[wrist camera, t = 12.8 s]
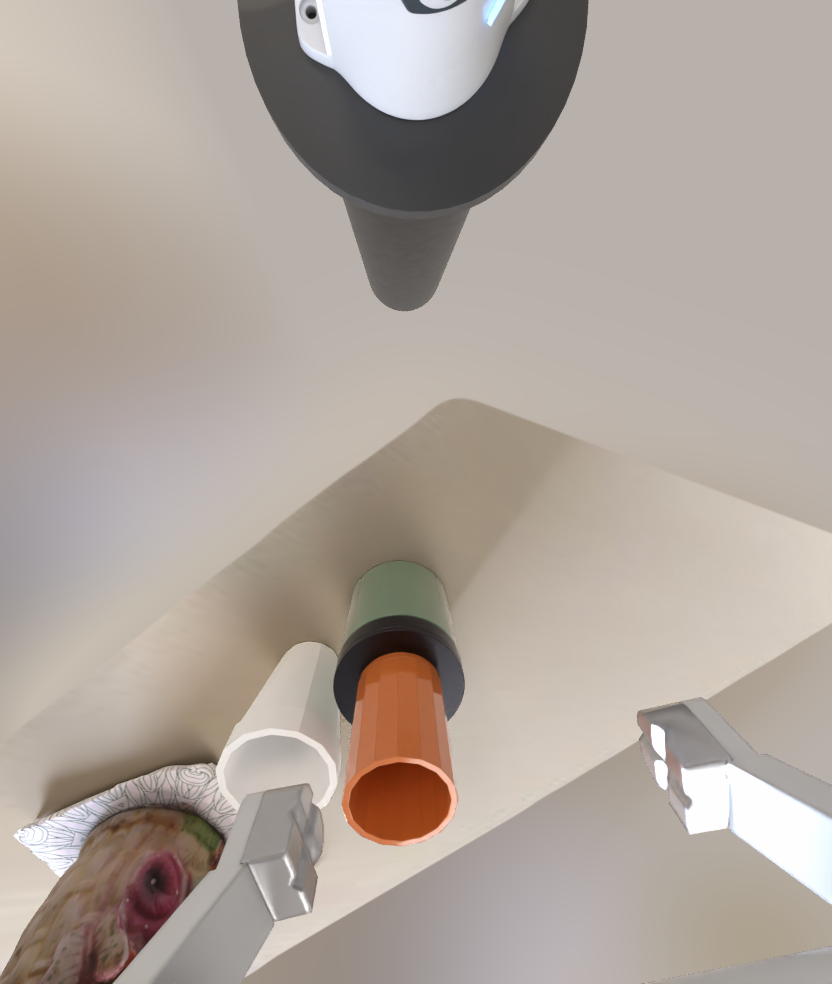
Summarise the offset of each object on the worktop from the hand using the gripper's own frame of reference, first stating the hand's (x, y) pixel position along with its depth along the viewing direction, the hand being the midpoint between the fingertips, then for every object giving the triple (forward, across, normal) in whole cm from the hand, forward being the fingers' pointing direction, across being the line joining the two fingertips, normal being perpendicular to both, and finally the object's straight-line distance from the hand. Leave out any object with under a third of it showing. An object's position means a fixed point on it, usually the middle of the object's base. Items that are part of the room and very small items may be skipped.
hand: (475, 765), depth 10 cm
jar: (+31, +5, +13) cm, 34 cm away
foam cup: (+31, +16, +18) cm, 39 cm away
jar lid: (+19, +5, +13) cm, 24 cm away
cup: (+19, +5, +13) cm, 23 cm away
